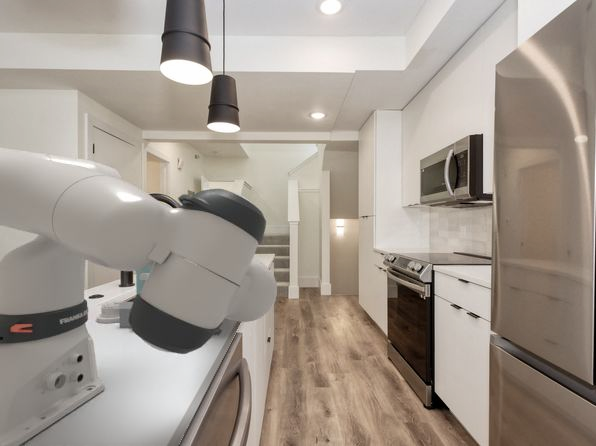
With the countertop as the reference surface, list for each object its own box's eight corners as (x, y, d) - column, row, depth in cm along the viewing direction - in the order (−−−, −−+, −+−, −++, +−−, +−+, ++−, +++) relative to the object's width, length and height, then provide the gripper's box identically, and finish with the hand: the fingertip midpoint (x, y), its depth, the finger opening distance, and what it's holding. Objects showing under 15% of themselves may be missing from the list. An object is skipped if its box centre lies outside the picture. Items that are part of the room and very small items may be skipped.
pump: (155, 300, 87) (154, 255, 87) (136, 300, 87) (135, 256, 87) (162, 295, 92) (162, 254, 92) (145, 296, 92) (144, 254, 92)
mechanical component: (88, 324, 88) (123, 324, 88) (88, 308, 88) (123, 308, 88) (110, 313, 98) (142, 313, 98) (110, 299, 98) (142, 299, 98)
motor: (156, 331, 81) (156, 305, 81) (113, 331, 81) (112, 306, 81) (177, 314, 95) (177, 293, 95) (140, 315, 95) (140, 293, 95)
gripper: (182, 293, 79) (126, 294, 79) (206, 278, 100) (162, 279, 100) (182, 268, 79) (126, 268, 79) (206, 258, 100) (161, 258, 100)
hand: (146, 274), depth 90 cm, fingers closed on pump, 5 cm apart
